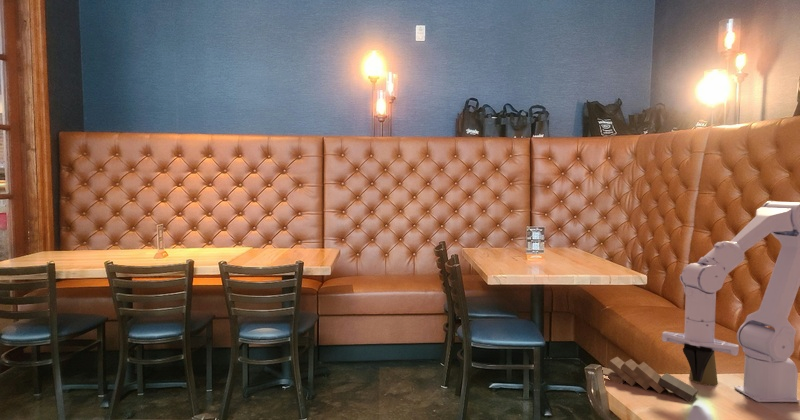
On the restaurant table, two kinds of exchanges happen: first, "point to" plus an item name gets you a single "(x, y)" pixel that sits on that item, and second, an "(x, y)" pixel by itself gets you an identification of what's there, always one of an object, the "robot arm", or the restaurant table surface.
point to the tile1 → (677, 387)
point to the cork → (708, 373)
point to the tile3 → (629, 368)
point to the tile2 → (649, 376)
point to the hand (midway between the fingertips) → (697, 380)
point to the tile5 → (612, 375)
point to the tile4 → (620, 370)
